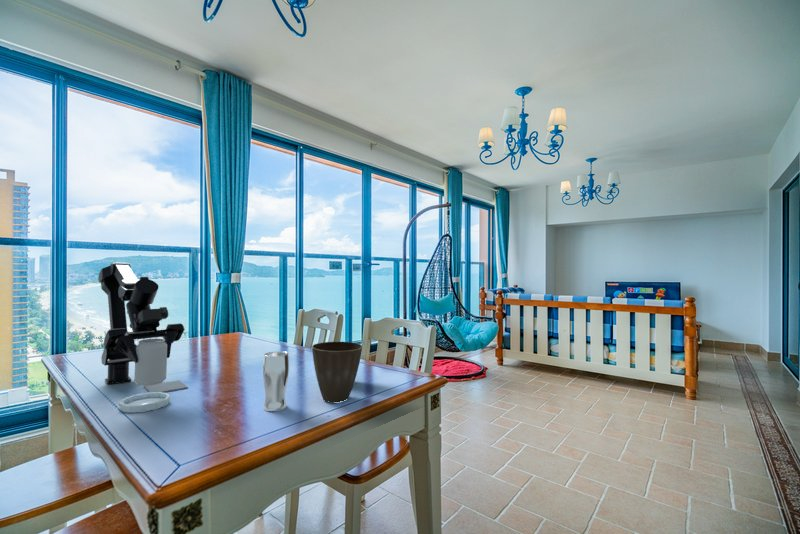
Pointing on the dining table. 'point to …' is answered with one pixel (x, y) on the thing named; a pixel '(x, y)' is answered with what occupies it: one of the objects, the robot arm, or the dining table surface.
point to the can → (151, 362)
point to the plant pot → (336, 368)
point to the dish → (144, 402)
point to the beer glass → (275, 380)
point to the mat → (166, 386)
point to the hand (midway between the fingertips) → (153, 359)
